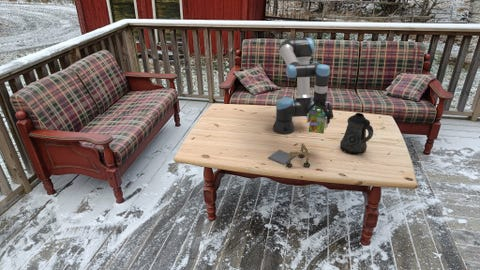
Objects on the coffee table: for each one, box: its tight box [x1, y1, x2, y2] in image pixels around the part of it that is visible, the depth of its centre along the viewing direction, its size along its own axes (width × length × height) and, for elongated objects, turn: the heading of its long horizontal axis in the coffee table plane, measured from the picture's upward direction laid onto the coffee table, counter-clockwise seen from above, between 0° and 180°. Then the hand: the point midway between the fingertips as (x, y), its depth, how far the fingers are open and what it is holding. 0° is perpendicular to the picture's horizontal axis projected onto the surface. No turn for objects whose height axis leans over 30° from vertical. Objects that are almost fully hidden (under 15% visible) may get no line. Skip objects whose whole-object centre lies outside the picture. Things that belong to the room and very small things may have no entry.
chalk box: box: [308, 106, 327, 134], centre depth 204 cm, size 9×9×15 cm
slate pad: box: [267, 149, 296, 166], centre depth 211 cm, size 12×12×1 cm
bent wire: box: [285, 143, 311, 169], centre depth 202 cm, size 12×18×10 cm, turn 139°
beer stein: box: [339, 112, 374, 156], centre depth 213 cm, size 16×19×25 cm
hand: (317, 125), depth 206 cm, fingers closed on chalk box, 11 cm apart
